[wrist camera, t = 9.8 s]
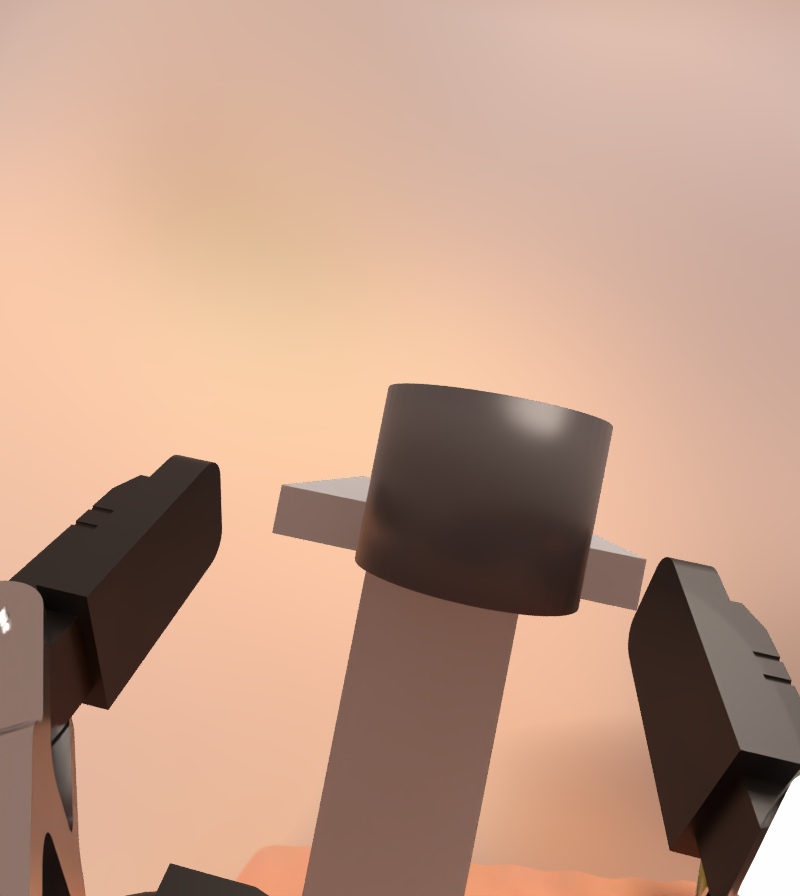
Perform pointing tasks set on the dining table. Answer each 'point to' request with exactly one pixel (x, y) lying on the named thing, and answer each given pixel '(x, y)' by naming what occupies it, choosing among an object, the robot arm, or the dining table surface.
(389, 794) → the pedestal
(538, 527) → the dark cylinder
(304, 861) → the dining table surface
